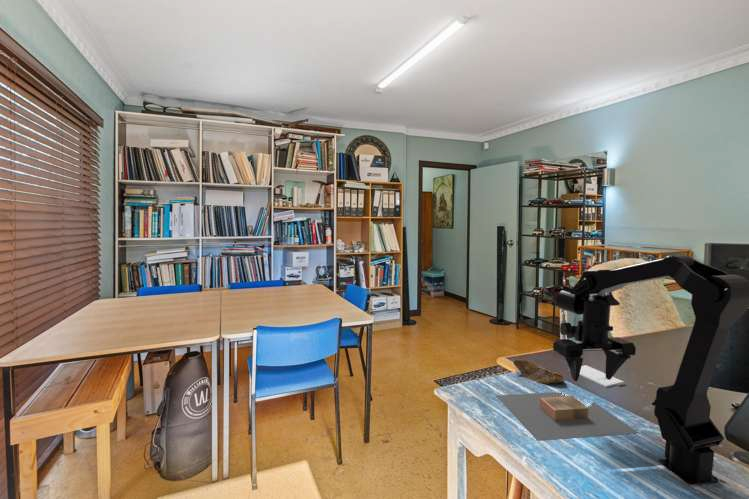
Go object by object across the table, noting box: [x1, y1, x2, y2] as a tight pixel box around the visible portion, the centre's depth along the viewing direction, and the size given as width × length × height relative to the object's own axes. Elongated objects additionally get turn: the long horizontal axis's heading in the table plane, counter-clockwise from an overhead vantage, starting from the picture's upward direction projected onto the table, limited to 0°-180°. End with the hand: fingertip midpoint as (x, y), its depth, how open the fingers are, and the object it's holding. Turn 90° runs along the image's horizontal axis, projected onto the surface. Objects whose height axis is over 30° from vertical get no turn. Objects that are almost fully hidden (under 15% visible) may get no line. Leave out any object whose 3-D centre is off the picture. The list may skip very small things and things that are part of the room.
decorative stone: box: [513, 358, 566, 385], centre depth 110 cm, size 10×4×15 cm
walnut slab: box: [540, 396, 589, 420], centre depth 89 cm, size 6×2×9 cm
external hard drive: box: [568, 364, 625, 388], centre depth 111 cm, size 2×8×12 cm
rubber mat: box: [494, 391, 639, 442], centre depth 90 cm, size 20×25×1 cm
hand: (591, 379), depth 90 cm, fingers open, 9 cm apart
